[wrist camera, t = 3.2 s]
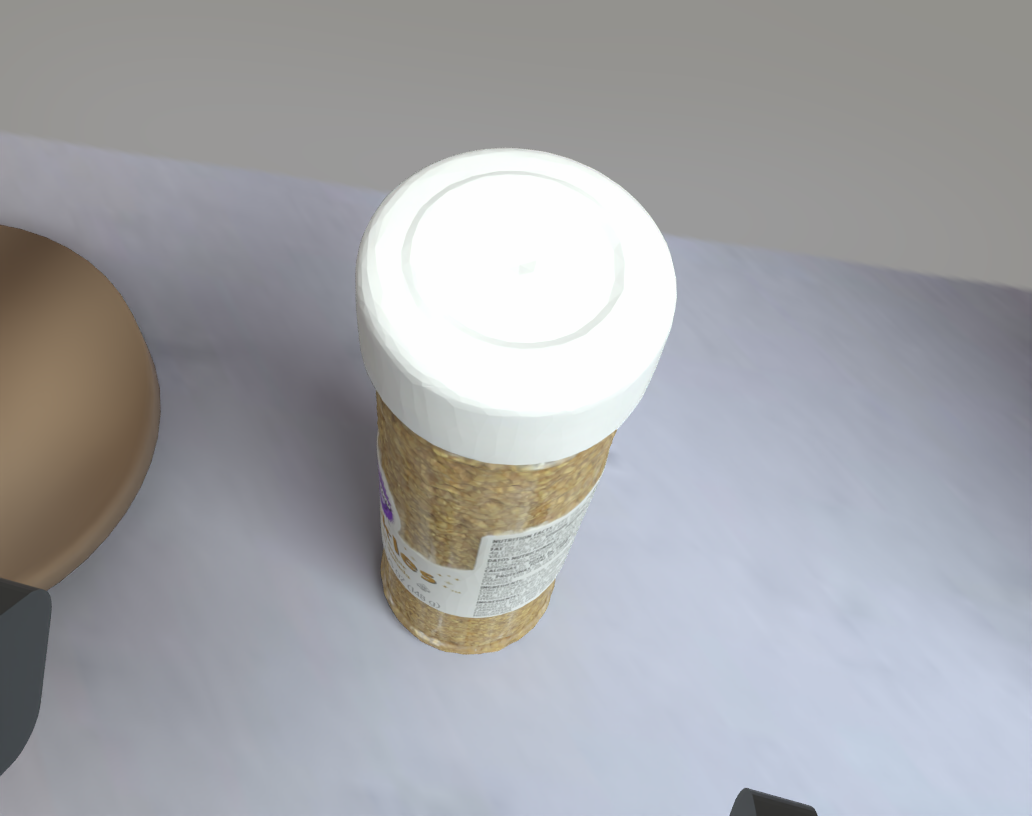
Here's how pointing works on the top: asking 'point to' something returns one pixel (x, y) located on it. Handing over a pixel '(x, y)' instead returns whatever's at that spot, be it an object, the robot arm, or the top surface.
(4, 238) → the disc
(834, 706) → the top surface
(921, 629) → the top surface
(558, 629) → the top surface
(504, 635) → the sprinkles bottle
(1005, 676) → the top surface
